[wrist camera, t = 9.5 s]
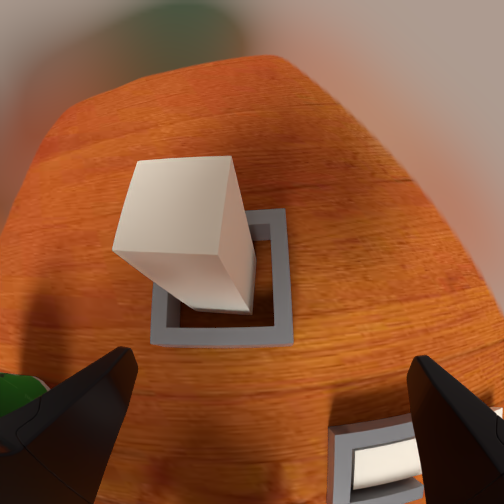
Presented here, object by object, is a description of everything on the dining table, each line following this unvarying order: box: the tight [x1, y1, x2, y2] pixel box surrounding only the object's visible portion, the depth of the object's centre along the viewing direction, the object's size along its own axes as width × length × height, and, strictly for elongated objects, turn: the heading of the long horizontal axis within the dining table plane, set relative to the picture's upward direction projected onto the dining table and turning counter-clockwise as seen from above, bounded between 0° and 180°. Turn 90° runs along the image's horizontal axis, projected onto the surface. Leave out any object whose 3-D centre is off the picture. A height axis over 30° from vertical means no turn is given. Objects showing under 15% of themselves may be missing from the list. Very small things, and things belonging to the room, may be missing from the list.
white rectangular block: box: [112, 156, 257, 315], centre depth 18 cm, size 4×4×13 cm
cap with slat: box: [326, 407, 502, 504], centre depth 16 cm, size 7×16×3 cm, turn 91°
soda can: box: [0, 372, 50, 417], centre depth 15 cm, size 8×8×12 cm
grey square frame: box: [150, 208, 293, 348], centre depth 22 cm, size 10×10×3 cm
